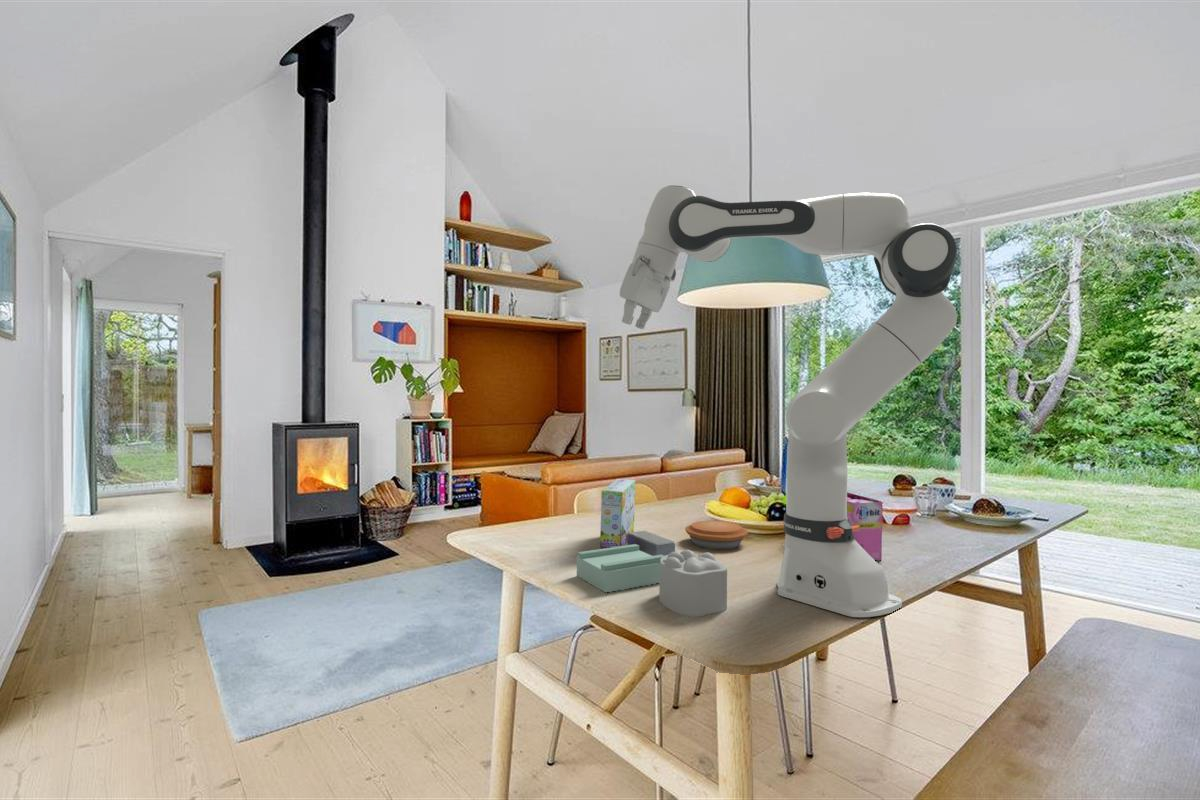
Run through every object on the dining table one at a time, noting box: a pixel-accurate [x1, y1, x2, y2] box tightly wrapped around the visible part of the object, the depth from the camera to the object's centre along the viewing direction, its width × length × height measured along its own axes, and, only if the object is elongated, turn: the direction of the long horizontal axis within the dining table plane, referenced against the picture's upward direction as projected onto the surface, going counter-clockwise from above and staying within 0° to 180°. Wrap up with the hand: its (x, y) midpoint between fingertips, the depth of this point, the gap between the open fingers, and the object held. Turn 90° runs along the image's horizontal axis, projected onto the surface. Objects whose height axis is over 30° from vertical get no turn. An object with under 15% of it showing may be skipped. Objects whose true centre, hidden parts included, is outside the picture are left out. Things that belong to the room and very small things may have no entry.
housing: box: [627, 530, 676, 556], centre depth 136 cm, size 12×5×5 cm, turn 29°
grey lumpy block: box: [658, 549, 728, 617], centre depth 108 cm, size 10×13×9 cm
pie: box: [684, 520, 749, 550], centre depth 150 cm, size 16×16×5 cm
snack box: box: [599, 478, 636, 549], centre depth 148 cm, size 21×6×15 cm, turn 168°
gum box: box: [847, 491, 883, 561], centre depth 146 cm, size 24×8×14 cm, turn 13°
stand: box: [576, 544, 663, 594], centre depth 121 cm, size 12×14×5 cm
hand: (632, 326), depth 128 cm, fingers open, 8 cm apart
